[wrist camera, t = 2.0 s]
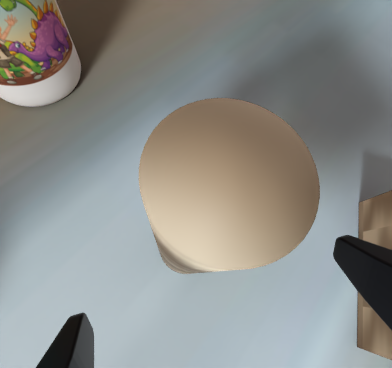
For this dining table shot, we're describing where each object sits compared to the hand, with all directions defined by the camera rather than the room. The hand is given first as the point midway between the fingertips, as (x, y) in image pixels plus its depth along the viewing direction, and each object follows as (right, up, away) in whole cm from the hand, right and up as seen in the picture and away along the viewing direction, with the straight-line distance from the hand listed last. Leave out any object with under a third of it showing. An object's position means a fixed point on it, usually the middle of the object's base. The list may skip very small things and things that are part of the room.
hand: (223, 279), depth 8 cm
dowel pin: (-2, -1, +10) cm, 10 cm away
